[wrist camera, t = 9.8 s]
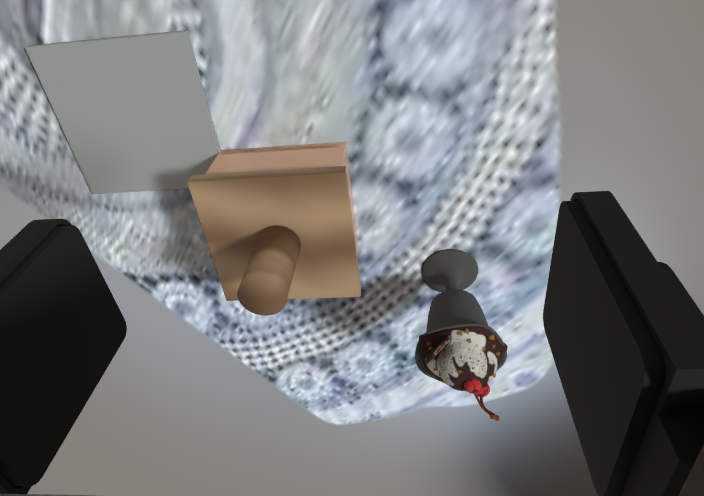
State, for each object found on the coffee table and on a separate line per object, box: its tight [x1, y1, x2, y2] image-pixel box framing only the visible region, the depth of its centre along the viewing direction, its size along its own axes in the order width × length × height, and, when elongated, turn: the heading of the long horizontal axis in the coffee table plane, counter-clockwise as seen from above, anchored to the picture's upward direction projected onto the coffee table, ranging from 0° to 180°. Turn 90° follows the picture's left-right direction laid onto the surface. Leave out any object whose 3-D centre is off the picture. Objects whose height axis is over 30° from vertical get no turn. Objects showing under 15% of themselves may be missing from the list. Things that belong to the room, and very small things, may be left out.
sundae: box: [415, 249, 507, 421], centre depth 40 cm, size 7×7×15 cm
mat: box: [25, 30, 221, 194], centre depth 39 cm, size 12×12×1 cm
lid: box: [187, 166, 361, 315], centre depth 36 cm, size 11×11×7 cm
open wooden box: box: [206, 142, 358, 256], centre depth 41 cm, size 10×10×5 cm
